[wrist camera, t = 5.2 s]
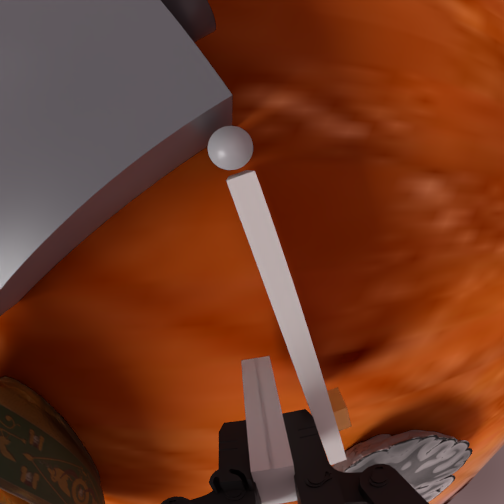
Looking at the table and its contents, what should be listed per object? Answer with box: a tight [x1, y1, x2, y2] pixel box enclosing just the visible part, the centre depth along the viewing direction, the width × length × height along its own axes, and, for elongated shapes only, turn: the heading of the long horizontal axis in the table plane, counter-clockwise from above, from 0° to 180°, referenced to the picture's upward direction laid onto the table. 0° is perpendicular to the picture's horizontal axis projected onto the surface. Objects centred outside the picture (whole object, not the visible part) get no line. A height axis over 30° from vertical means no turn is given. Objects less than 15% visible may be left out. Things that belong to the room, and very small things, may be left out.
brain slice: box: [333, 430, 472, 502], centre depth 20 cm, size 20×17×3 cm
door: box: [208, 126, 351, 465], centre depth 12 cm, size 2×14×6 cm, turn 19°
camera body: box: [0, 0, 233, 316], centre depth 9 cm, size 10×18×8 cm, turn 123°
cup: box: [0, 376, 105, 504], centre depth 13 cm, size 13×20×10 cm, turn 165°
